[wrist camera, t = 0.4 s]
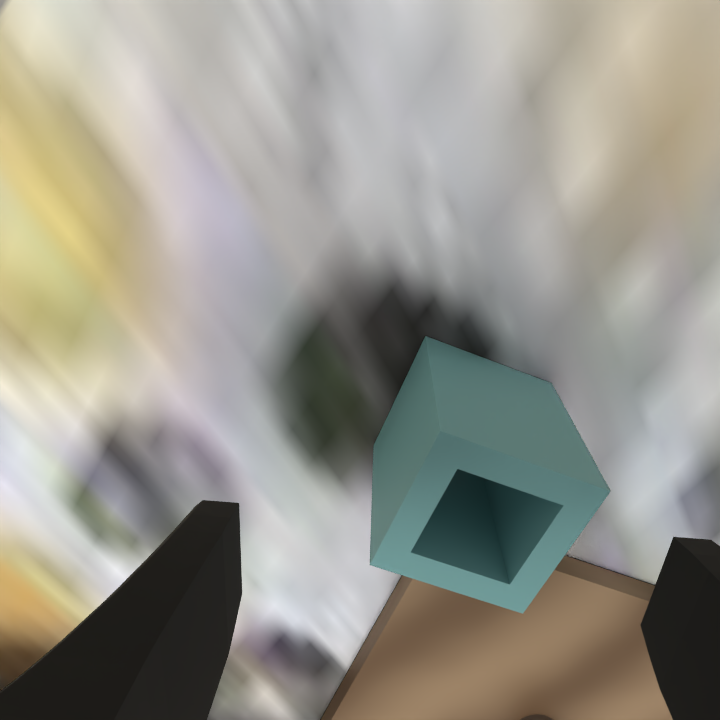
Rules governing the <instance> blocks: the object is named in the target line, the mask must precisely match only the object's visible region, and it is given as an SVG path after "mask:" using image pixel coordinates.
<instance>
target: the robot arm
mask: <svg viewBox="0 0 720 720" xmlns="http://www.w3.org/2000/svg"><path fill="white" fill-rule="evenodd" d="M241 596H242V577H241V548H240V519H239V503H231V502H219V501H206V500H203V501H201V502H200V503H199V504H197V505H196V506H195V507H194V508H193V510H192V511H191V512H190V513H189V514H188V515H187V516H186V517H185V518H184V520H183V521H182V522H181V523H180V524H179V525H178V526H177V527H176V528H175V530H174V531H173V532H172V533H171V534H170V535H169V536H168V537H167V538H166V539H165V540H164V541H163V542H162V544H161V545H160V546H159V547H158V548H157V549H156V550H155V551H154V552H153V553H152V554H151V555H150V556H149V557H148V558H147V559H146V560H145V561H144V562H143V563H142V564H141V565H140V566H139V567H138V568H137V569H136V570H135V571H134V572H133V573H132V574H131V575H130V576H129V577H128V578H127V579H126V581H125V582H124V583H123V584H122V585H121V586H120V587H119V588H118V589H117V590H116V591H115V592H114V593H113V594H111V595H110V596H109V597H108V598H107V599H106V600H105V601H104V602H103V603H102V604H101V605H100V606H99V607H98V608H97V609H96V610H94V611H93V612H92V613H91V614H90V615H89V616H88V617H87V618H86V619H85V620H84V621H82V622H81V623H80V624H79V625H78V626H77V627H76V628H75V629H74V630H73V631H72V632H70V633H69V634H68V635H67V636H66V637H65V638H64V639H63V640H62V641H61V642H59V643H58V644H57V645H56V646H55V647H54V648H53V649H51V650H50V651H49V652H48V653H47V654H46V655H44V656H43V657H42V658H41V659H40V660H38V661H37V662H36V663H35V664H34V665H33V666H31V667H30V668H29V669H28V670H27V671H25V672H24V673H23V674H22V675H20V676H19V677H18V678H17V679H15V680H14V681H13V682H12V683H10V684H9V685H8V686H7V687H5V688H4V689H3V690H2V691H0V720H207V717H208V714H209V711H210V708H211V705H212V703H213V700H214V697H215V694H216V691H217V688H218V685H219V682H220V679H221V676H222V673H223V670H224V666H225V663H226V660H227V657H228V654H229V650H230V646H231V641H232V637H233V633H234V628H235V624H236V619H237V614H238V610H239V605H240V601H241ZM640 626H641V629H642V633H643V636H644V640H645V643H646V647H647V650H648V653H649V657H650V660H651V663H652V667H653V670H654V673H655V676H656V679H657V682H658V685H659V688H660V691H661V693H662V695H663V698H664V700H665V702H666V705H667V707H668V709H669V712H670V714H671V716H672V719H673V720H720V546H719V545H717V544H716V543H715V542H713V541H712V540H706V539H693V538H680V537H673V540H672V542H671V545H670V548H669V550H668V553H667V556H666V558H665V561H664V564H663V566H662V569H661V572H660V574H659V577H658V580H657V582H656V585H655V588H654V590H653V593H652V596H651V598H650V601H649V604H648V606H647V609H646V612H645V614H644V617H643V620H642V622H641V625H640Z"/></svg>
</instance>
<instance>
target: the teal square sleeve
mask: <svg viewBox="0 0 720 720" xmlns="http://www.w3.org/2000/svg"><path fill="white" fill-rule="evenodd" d="M609 493H610V489H609V487H608V485H607V484H606V482H605V480H604V478H603V476H602V475H601V473H600V471H599V469H598V467H597V465H596V464H595V462H594V460H593V458H592V456H591V454H590V453H589V451H588V449H587V447H586V445H585V443H584V442H583V440H582V438H581V436H580V434H579V432H578V431H577V429H576V427H575V425H574V423H573V421H572V420H571V418H570V416H569V414H568V412H567V411H566V409H565V407H564V405H563V403H562V401H561V400H560V398H559V396H558V394H557V392H556V390H555V389H554V387H553V385H552V383H550V382H547V381H544V380H542V379H539V378H536V377H534V376H531V375H528V374H526V373H523V372H520V371H518V370H515V369H512V368H510V367H507V366H504V365H502V364H499V363H496V362H494V361H491V360H488V359H486V358H483V357H480V356H478V355H475V354H472V353H470V352H467V351H464V350H462V349H459V348H456V347H454V346H451V345H448V344H446V343H443V342H440V341H437V340H435V339H432V338H429V337H427V336H425V338H424V340H423V342H422V344H421V346H420V349H419V351H418V353H417V355H416V357H415V359H414V361H413V363H412V365H411V368H410V370H409V372H408V374H407V376H406V378H405V380H404V382H403V384H402V387H401V389H400V391H399V393H398V395H397V397H396V399H395V401H394V403H393V406H392V408H391V410H390V412H389V414H388V416H387V418H386V420H385V423H384V425H383V427H382V429H381V431H380V433H379V435H378V437H377V439H376V442H375V444H374V447H373V479H372V511H371V543H370V565H372V566H375V567H378V568H381V569H384V570H387V571H390V572H394V573H397V574H400V575H403V576H406V577H409V578H412V579H416V580H419V581H422V582H425V583H428V584H431V585H434V586H438V587H441V588H444V589H447V590H450V591H453V592H456V593H459V594H463V595H466V596H469V597H472V598H475V599H478V600H481V601H485V602H488V603H491V604H494V605H497V606H500V607H503V608H507V609H510V610H513V611H516V612H519V613H522V614H523V613H524V611H525V610H526V609H527V607H528V606H529V604H530V603H531V602H532V600H533V599H534V597H535V596H536V595H537V593H538V592H539V590H540V589H541V588H542V586H543V585H544V583H545V582H546V581H547V579H548V578H549V577H550V575H551V574H552V572H553V571H554V570H555V568H556V567H557V565H558V564H559V563H560V561H561V560H562V558H563V557H564V556H565V554H566V553H567V551H568V550H569V549H570V547H571V546H572V544H573V543H574V542H575V540H576V539H577V537H578V536H579V535H580V533H581V532H582V530H583V529H584V528H585V526H586V525H587V523H588V522H589V521H590V519H591V518H592V517H593V515H594V514H595V512H596V511H597V510H598V508H599V507H600V505H601V504H602V503H603V501H604V500H605V498H606V497H607V496H608V494H609Z"/></svg>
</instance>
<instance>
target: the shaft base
mask: <svg viewBox="0 0 720 720" xmlns="http://www.w3.org/2000/svg"><path fill="white" fill-rule="evenodd" d="M654 588H655V586H654V585H651V584H648V583H645V582H642V581H639V580H636V579H633V578H630V577H627V576H624V575H621V574H618V573H615V572H613V571H610V570H607V569H604V568H601V567H598V566H595V565H592V564H589V563H586V562H583V561H580V560H577V559H574V558H571V557H568V556H564V557H563V558H562V560H561V561H560V563H559V564H558V565H557V567H556V568H555V570H554V571H553V572H552V574H551V575H550V577H549V578H548V579H547V581H546V582H545V583H544V585H543V586H542V588H541V589H540V590H539V592H538V593H537V595H536V596H535V597H534V599H533V600H532V602H531V603H530V604H529V606H528V607H527V609H526V610H525V611H524V613H523V614H522V613H519V612H516V611H513V610H510V609H507V608H503V607H500V606H497V605H494V604H491V603H488V602H485V601H481V600H478V599H475V598H472V597H469V596H466V595H463V594H459V593H456V592H453V591H450V590H447V589H444V588H441V587H438V586H434V585H431V584H428V583H425V582H422V581H419V580H416V579H412V578H409V577H406V576H403V575H402V577H401V578H400V580H399V582H398V584H397V585H396V587H395V589H394V591H393V593H392V594H391V596H390V598H389V600H388V601H387V603H386V605H385V607H384V608H383V610H382V612H381V614H380V616H379V617H378V619H377V621H376V623H375V624H374V626H373V628H372V630H371V631H370V633H369V635H368V637H367V639H366V640H365V642H364V644H363V646H362V647H361V649H360V651H359V653H358V654H357V656H356V658H355V660H354V662H353V663H352V665H351V667H350V669H349V670H348V672H347V674H346V676H345V677H344V679H343V681H342V683H341V685H340V686H339V688H338V690H337V692H336V693H335V695H334V697H333V699H332V700H331V702H330V704H329V706H328V708H327V709H326V711H325V713H324V715H323V716H322V718H321V720H673V719H672V716H671V714H670V712H669V709H668V707H667V705H666V702H665V700H664V698H663V695H662V693H661V691H660V688H659V685H658V682H657V679H656V676H655V673H654V670H653V667H652V663H651V660H650V657H649V653H648V650H647V647H646V643H645V640H644V636H643V633H642V629H641V626H640V625H641V622H642V620H643V617H644V614H645V612H646V609H647V606H648V604H649V601H650V598H651V596H652V593H653V590H654Z"/></svg>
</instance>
